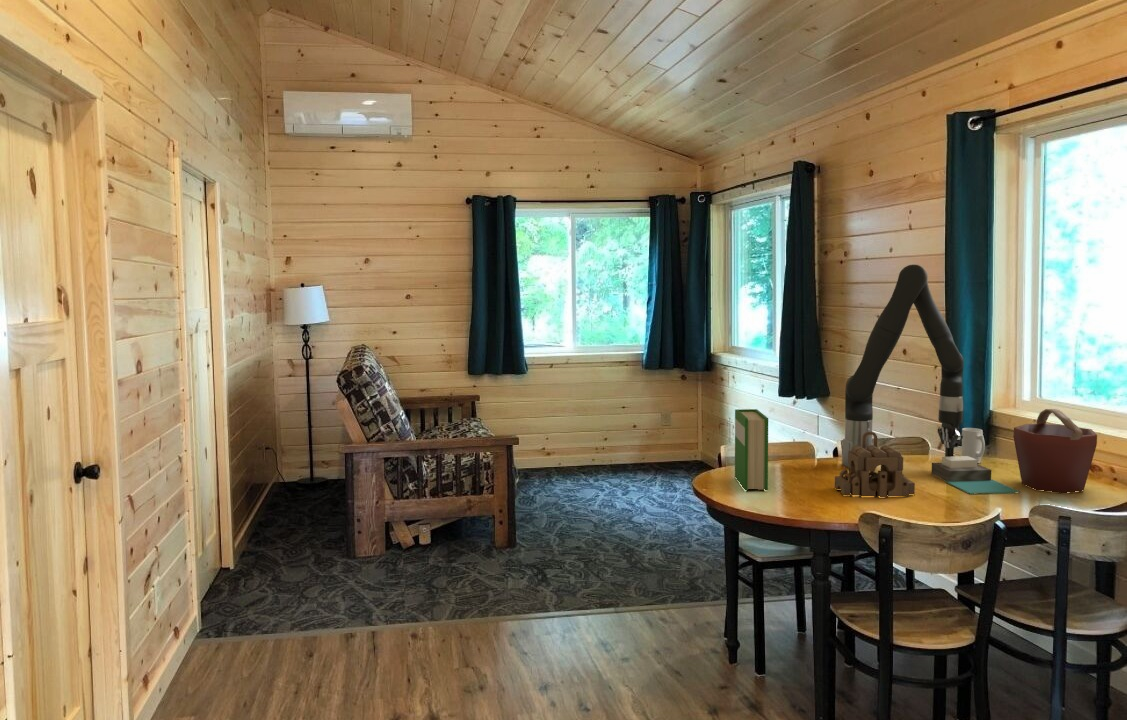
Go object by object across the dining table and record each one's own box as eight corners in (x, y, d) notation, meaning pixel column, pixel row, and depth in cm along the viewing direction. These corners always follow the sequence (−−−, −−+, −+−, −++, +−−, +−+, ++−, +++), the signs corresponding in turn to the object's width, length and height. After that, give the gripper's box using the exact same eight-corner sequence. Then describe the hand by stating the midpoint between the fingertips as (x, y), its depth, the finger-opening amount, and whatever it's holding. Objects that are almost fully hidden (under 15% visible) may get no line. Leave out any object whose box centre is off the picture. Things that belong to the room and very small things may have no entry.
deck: (949, 483, 264) (949, 471, 264) (931, 474, 276) (931, 462, 276) (991, 481, 265) (991, 469, 264) (971, 472, 277) (971, 461, 276)
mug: (956, 460, 296) (957, 428, 294) (973, 459, 297) (974, 427, 295) (974, 466, 286) (976, 433, 284) (991, 465, 287) (993, 432, 285)
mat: (969, 494, 250) (969, 492, 250) (945, 482, 265) (945, 480, 265) (1019, 493, 251) (1019, 491, 251) (992, 480, 266) (992, 479, 266)
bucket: (1098, 500, 242) (1102, 418, 239) (1015, 493, 251) (1018, 414, 249) (1084, 480, 264) (1088, 405, 261) (1008, 475, 273) (1011, 402, 271)
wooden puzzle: (845, 499, 249) (846, 439, 247) (831, 486, 263) (832, 430, 261) (917, 498, 248) (919, 439, 246) (899, 486, 262) (901, 430, 260)
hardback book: (767, 491, 258) (768, 418, 255) (744, 492, 258) (744, 418, 256) (756, 478, 275) (756, 409, 273) (734, 478, 276) (735, 409, 273)
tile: (951, 468, 268) (951, 460, 268) (941, 463, 274) (942, 456, 274) (977, 467, 268) (977, 459, 268) (967, 463, 274) (967, 455, 274)
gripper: (930, 406, 283) (929, 454, 284) (950, 412, 269) (948, 462, 271) (951, 405, 283) (949, 453, 285) (972, 411, 270) (970, 462, 272)
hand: (949, 458), depth 278 cm, fingers closed
